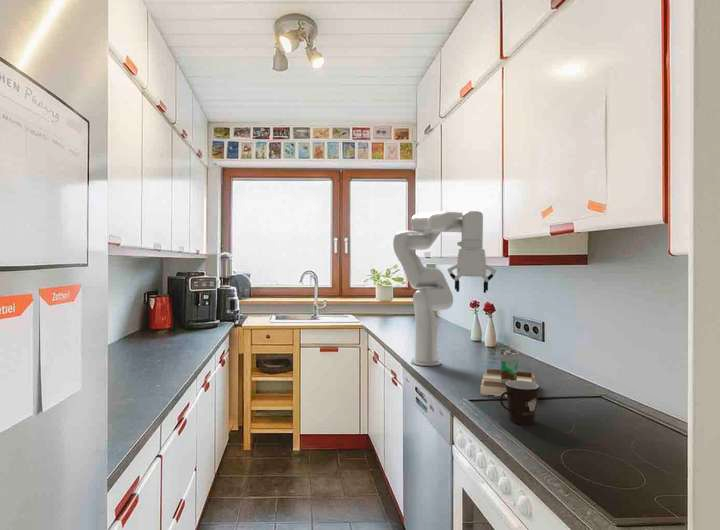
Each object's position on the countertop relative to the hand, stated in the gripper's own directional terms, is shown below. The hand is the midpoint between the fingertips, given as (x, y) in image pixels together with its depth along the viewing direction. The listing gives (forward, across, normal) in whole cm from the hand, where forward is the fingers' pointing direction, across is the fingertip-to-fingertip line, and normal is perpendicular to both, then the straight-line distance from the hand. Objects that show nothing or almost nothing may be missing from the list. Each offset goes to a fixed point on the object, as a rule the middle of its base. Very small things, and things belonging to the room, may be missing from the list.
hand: (471, 292), depth 166 cm
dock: (+32, +14, -9) cm, 36 cm away
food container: (+29, +14, -9) cm, 34 cm away
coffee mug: (+32, +16, -39) cm, 53 cm away
